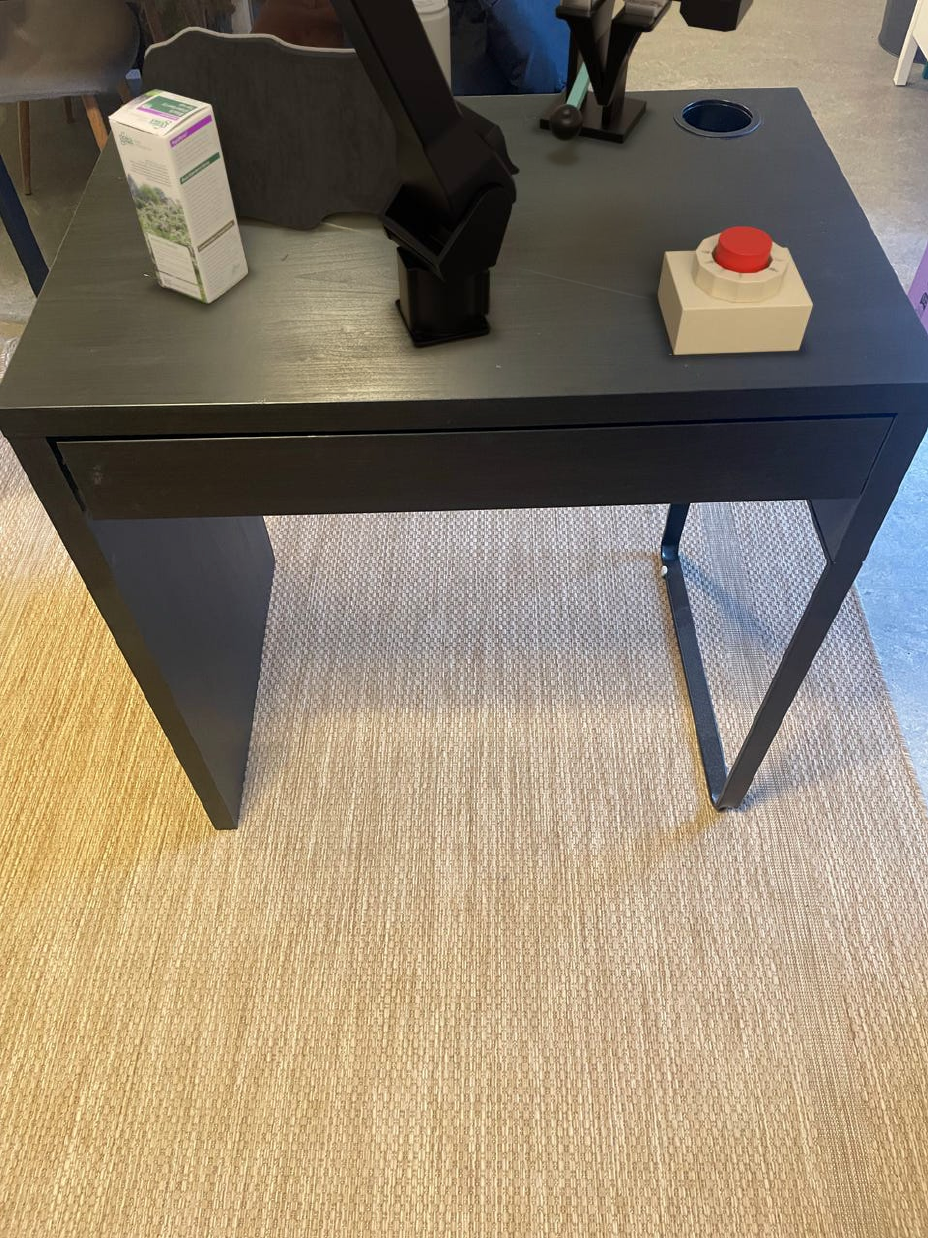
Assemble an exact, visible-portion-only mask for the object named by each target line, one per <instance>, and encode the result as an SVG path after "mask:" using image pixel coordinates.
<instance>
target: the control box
mask: <svg viewBox="0 0 928 1238" xmlns="http://www.w3.org/2000/svg"><path fill="white" fill-rule="evenodd" d="M721 233H722V232H719V233H717V234H714V235H711V236H708V237H706V238H703V240H702V241H701V242H700V244H698V247H697V248H696V249H695V250H678V251H677V250H674V251H673V250H671V251H664V256H663V262H662V267H661V273H660V279H659V285H658V290H657V297H658V303H659V307H660V310H661V315H662V318H663V321H664V324H665V328H666V332H667V334H668V338H669V342H670V346H671V349H672V352H673V353H672V354H673V355H675V356H678V355H705V354H706V355H707V354H736V353H737V354H739V353H764V352H765V353H766V352H795V351H796V352H797V351H799V350H800V348H801V345H802V341H803V338H804V335H805V332H806V329H807V325H808V323H809V321H810V316H811V313H812V310H813V307H814V304H813V302H812V299H811V297H810V294H809V292H808V290H807V288H806V286H805V284H804V282H803V279H802V277H801V275H800V273H799V271H798V268H797V266H796V263H795V262H794V259H793V257H792V255H791V253H790V250H789V248H788V247H782V246H780V245H779V244H777V243H776V242H774V241H773V240H772V248H771V252H770V256H769V260H768V263H767V266H766V268H765V269H764V270H762V271H759V272H757V273H738V272H734V271H730V270H726V269H724V268H722V267H721V266H720V265H718V264H717V263H716V262H715V254H716V249H717V244H718V240H719V236H720V234H721Z"/></svg>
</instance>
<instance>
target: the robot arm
mask: <svg viewBox="0 0 928 1238" xmlns="http://www.w3.org/2000/svg"><path fill="white" fill-rule="evenodd" d="M328 1H329V3H330V5H331V7H332V9H333V11H334V13H335V14H336V17H337V18H338V20H339V23H340V24H341V26H342V28H343V30H344V32H345V34H346V36H347V38H348V41H350V44H351V45H352V49H354V50H355V51H356V53H357V55H358V57H359V59H360V61H361V63H362V65H363V67H364V69H365V71H366V73H367V75H368V77H369V79H370V81H371V83H372V84H373V86H374V88H375V90H376V92H377V94H378V96H379V98H380V100H381V102H382V104H383V106H384V108H385V110H386V112H387V114H388V116H389V118H390V119H391V121H392V123H393V125H394V128H395V131H396V135H397V136H396V163H397V166H398V169H399V172H400V175H401V179H400V181H399V182H398V184H397V185H396V187H395V189H394V190H393V192H392V194H391V195H390V197H389V198H388V200H387V202H386V203H385V205H384V207H383V208H382V210H381V211H380V213H379V214H377V221H378V223H379V225H380V228H381V230H382V232H383V234H384V236H385V237H386V238H387V239H388V240H391V241H392V242H394V243H395V244H396V245H398V246H396V249H395V250H396V264H397V278H398V291H399V292H398V293H399V298H397V299H396V300H395V301H394V305H395V310H396V311H397V313H398V316H399V318H400V320H401V322H402V324H403V327H404V329H405V331H406V333H407V336H408V337H409V340H410V342H411V344H412V346H413V347H414V348H416V349H422V348H427V347H433V346H438V345H442V344H448V343H452V342H458V341H463V340H468V339H473V338H478V337H483V336H487V335H489V334H490V333H491V325H490V323H489V322H488V320H487V318H486V316H487V315H489V313H490V311H491V268H493V267H494V266H496V264H497V261H498V258H499V254H500V252H501V248H502V245H503V241H504V238H505V234H506V232H507V228H508V224H509V222H510V218H511V215H512V211H513V205H514V204H515V203H516V202H517V199H518V197H517V196H518V195H517V193H518V190H517V186H516V182H515V181H516V180H515V179H514V177H513V176H514V175H518V174H519V173H520V169H519V167H517V166H516V165H515V164H514V163H513V161H512V160H511V158H510V155H509V153H508V149H507V142H506V139H505V136H504V133H503V131H502V129H501V127H500V125H498V124H497V123H495V122H494V121H492V120H491V119H489V118H487V117H486V116H484V115H482V114H481V113H479V112H478V111H476V110H475V109H473V108H472V107H470V106H468V105H466V104H465V103H463V102H462V101H461V100H458V99H457V98H455V96H454V93H453V91H452V88H451V89H450V86H449V84H448V82H447V80H446V77H445V75H444V73H443V70H442V68H441V66H440V63H439V61H438V59H437V56H436V54H435V52H434V49H433V47H432V45H431V43H430V40H429V38H428V36H427V33H426V31H425V29H424V26H423V24H422V22H421V19H420V17H419V15H418V13H417V10H416V8H415V6H414V3H413V1H412V0H328ZM622 1H623V2H624V4H623V6H622V7H621V9H620V10H619V11H618V12H617V13H616V14H615V15H614V17H613V14H614V9H615V4H616V0H559V3H558V5H557V6H556V7H555V8H554V17H555V18H556V19H558V20H563V21H565V22H566V25H567V26H568V28H569V32H570V31H571V33H572V35H573V37H574V40H575V42H576V44H577V46H578V48H579V51H580V53H581V55H582V58H583V61H584V64H585V67H586V70H587V73H588V76H589V79H590V85H591V88H592V91H593V92H594V95H595V98H596V101H597V104H598V105H600V106H606V107H608V105H609V104H610V103H611V101H612V99H613V97H614V94H615V92H616V89H617V87H618V85H619V82H620V80H621V78H622V75H623V73H624V70H625V68H626V66H627V63H628V64H629V62H628V61H630V58H631V56H632V54H633V52H634V49H635V47H636V45H637V43H638V41H639V40H640V38H641V36H642V34H643V33H645V34H647V33H651V32H653V31H654V30H655V28H656V27H657V26H658V25H659V23H660V22H661V21H662V20H663V18H664V17H665V16H666V14H667V13H668V12H669V11H670V9H671V7H672V4H673V2H678V3H680V5H679V11H678V13H679V14H680V16H681V17H682V19H683V21H684V22H685V23H686V25H687V26H688V27H690V28H697V29H703V30H709V31H715V32H722V33H729V32H734V31H736V30H737V29H738V27H739V25H740V24H741V23H742V21H743V19H744V18H745V16H746V14H747V13H748V12H749V10H750V8H751V7H752V6H753V4H754V0H622ZM612 18H613V19H612Z"/></svg>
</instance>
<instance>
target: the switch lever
mask: <svg viewBox="0 0 928 1238" xmlns="http://www.w3.org/2000/svg"><path fill="white" fill-rule="evenodd" d="M613 18H614V17H612V19H613ZM590 85H591V82H590V79H589V76H588V73H587V70H586V67H585V64H584V62H583V64H582V67H581V69H580V72H579V74H578V76H577V79H576V81H575V84H574V86H573V89H572V91H571V93H570V96H569V98H568V101H567V103H566V104H563V105H560V106H558V107H557V108H556V109H555V110H554V111H553V113H552V114H551V117H550V123H549V124H550V130H549V131H550V132H551V134H552V136H554V138H555V139H557V140H558V141H561V142H570V141H572V140H574V139H576V137H578V136H577V135H578V134H579V133H580V131H581V129H582V124H583V119H582V115H581V112H580V111H579V108H580V106H581V103H582V101H583V98H584V96H585V94H586V91H587V89H588V90H589V86H590Z"/></svg>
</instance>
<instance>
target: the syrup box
mask: <svg viewBox="0 0 928 1238" xmlns="http://www.w3.org/2000/svg"><path fill="white" fill-rule="evenodd" d="M108 122H109V125H110V128H111V131H112V134H113V137H114V142H115V144H116V148H117V151H118V154H119V157H120V162H121V164H122V167H123V172H124V174H125V177H126V181H127V184H128V187H129V190H130V193H131V196H132V197H131V198H132V200H133V203H134V207H135V210H136V213H137V216H138V220H139V224H140V226H141V231H142V232H143V235H144V241H145V243H146V246H147V250H148V253H149V256H150V259H151V262H152V265H153V268H154V272H155V276H156V278H157V282H158V285H159V287H162V288H165V289H167V290H169V291H173V292H176V293H178V294H181V295H183V296H185V297H189V298H191V299H194V300H197V301H199V302H202V303H205V304H208V305H209V304H211V303H213V302H214V301H215V300H217V299H218V298H220V297H221V296H222V295H223V294H225V293H226V292H227V291H229V290H230V289H231V288H232V287H234V286H236V284H238V283H239V282H240V281H241V280H242V279H244V278H245V277H246V276H247V275H248V274H249V268H248V264H247V259H246V255H245V250H244V246H243V243H242V238H241V233H240V229H239V225H238V220H237V219H238V218H237V215H235V210H234V206H233V201H232V197H231V192H230V187H229V183H228V178H227V173H226V169H225V164H224V159H223V155H222V150H221V145H220V141H219V136H218V131H217V127H216V123H215V118H214V114H213V109H212V106H211V105H210V104H207V103H203V102H200V101H196V100H193V99H190V98H186V97H183V96H179V95H176V94H172V93H169V92H165V91H162V90H158V89H155V90H152V91H150V92H148V93H145V94H143V95H141V96H139V95H138V97H135V98H133V99H132V100H130V101H129V102H128V103H126V104H124V105H122V106H121V107H120V108H119V109H118V110H116V111H115V112H114V113H112V114H111V115H108Z"/></svg>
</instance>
